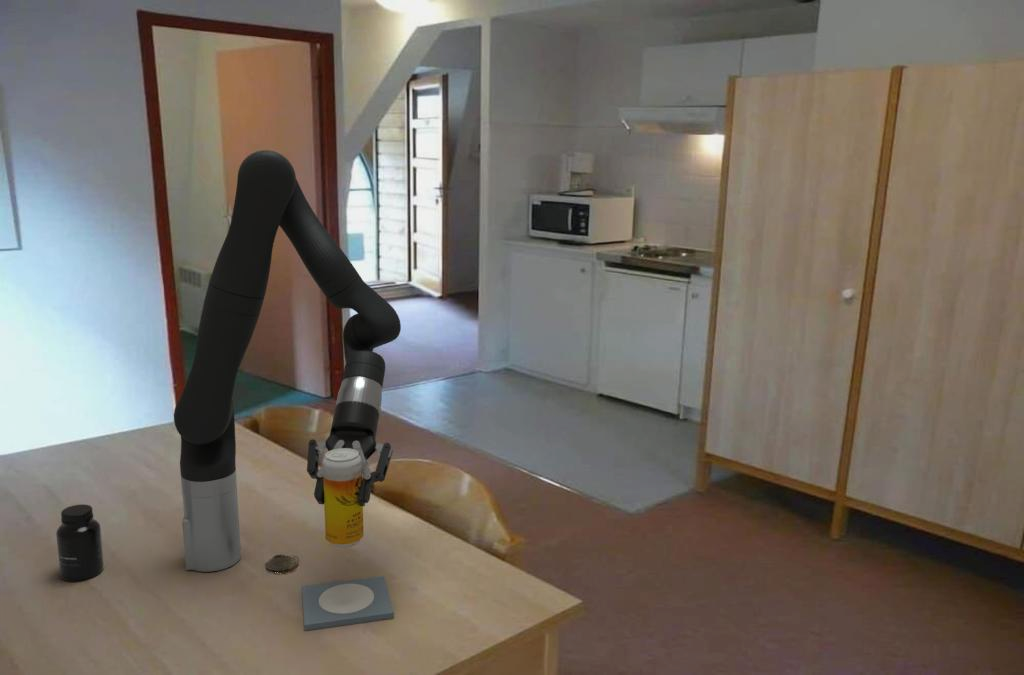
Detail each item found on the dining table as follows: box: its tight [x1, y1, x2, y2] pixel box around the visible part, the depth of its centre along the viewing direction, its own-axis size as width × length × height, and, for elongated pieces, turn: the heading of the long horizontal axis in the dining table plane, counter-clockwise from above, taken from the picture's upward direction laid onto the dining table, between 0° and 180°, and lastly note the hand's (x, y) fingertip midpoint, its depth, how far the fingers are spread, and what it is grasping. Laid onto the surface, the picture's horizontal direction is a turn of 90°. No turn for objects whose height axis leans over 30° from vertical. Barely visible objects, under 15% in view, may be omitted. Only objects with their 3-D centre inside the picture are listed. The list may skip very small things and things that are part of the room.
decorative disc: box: [264, 554, 300, 575], centre depth 144 cm, size 6×6×1 cm
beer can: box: [322, 448, 365, 549], centre depth 128 cm, size 6×6×15 cm
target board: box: [301, 575, 395, 632], centre depth 132 cm, size 14×12×1 cm
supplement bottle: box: [55, 504, 104, 582], centre depth 139 cm, size 7×7×12 cm
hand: (340, 503), depth 127 cm, fingers closed on beer can, 6 cm apart
